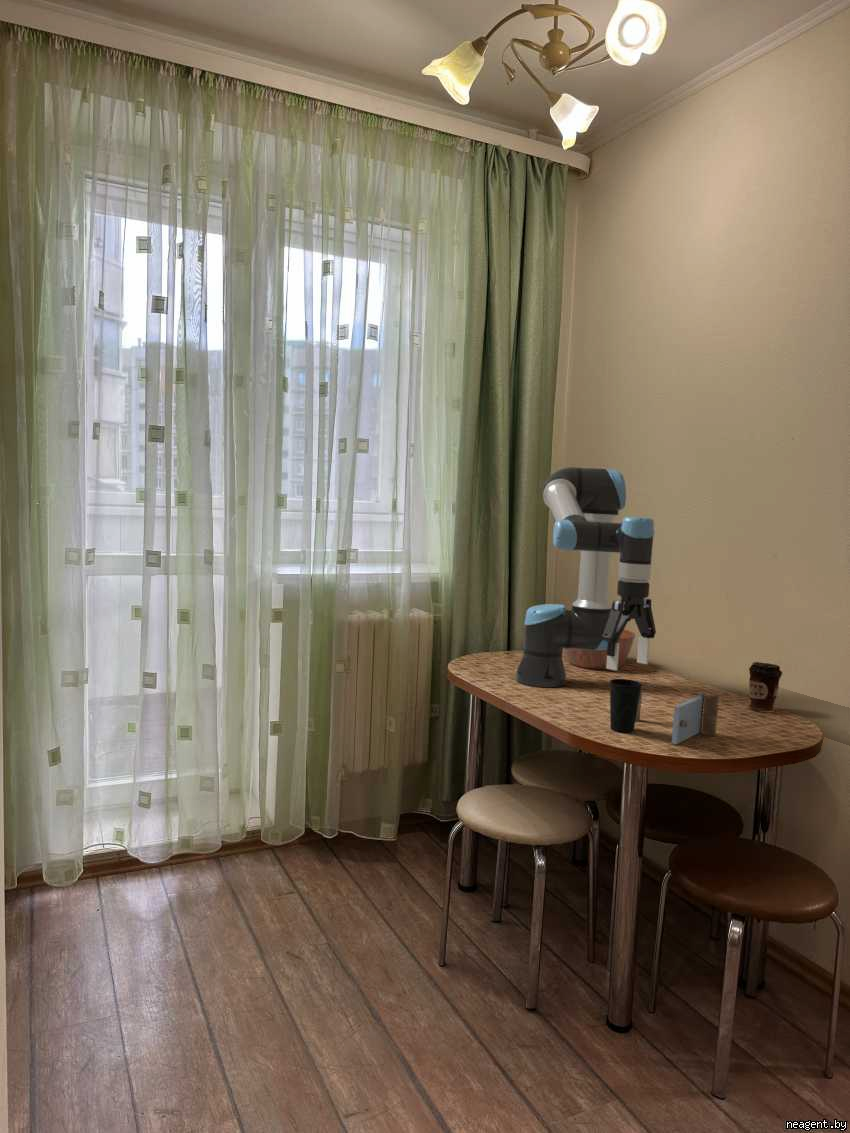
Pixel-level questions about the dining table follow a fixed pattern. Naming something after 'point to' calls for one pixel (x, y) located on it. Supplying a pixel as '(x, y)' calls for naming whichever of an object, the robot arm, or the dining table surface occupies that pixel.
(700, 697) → the door
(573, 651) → the bowl
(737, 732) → the dining table surface
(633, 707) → the cup
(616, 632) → the robot arm
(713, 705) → the door frame
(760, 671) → the coffee cup
